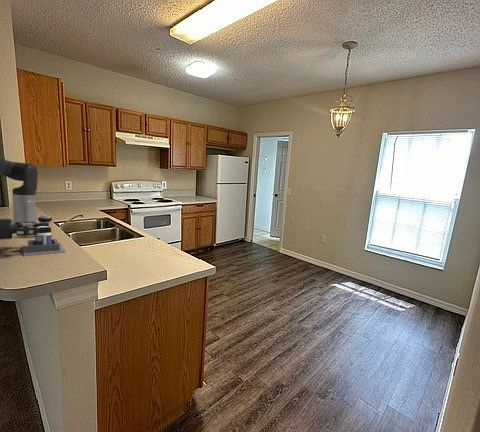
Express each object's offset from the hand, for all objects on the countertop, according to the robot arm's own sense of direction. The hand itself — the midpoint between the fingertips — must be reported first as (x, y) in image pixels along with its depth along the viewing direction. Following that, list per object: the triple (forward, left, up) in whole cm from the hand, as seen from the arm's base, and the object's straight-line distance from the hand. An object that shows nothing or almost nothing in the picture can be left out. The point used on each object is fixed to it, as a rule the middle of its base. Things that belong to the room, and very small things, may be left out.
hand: (49, 227), depth 105 cm
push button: (-18, -14, -9) cm, 24 cm away
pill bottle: (+1, -1, -9) cm, 9 cm away
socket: (+1, -1, -9) cm, 9 cm away
